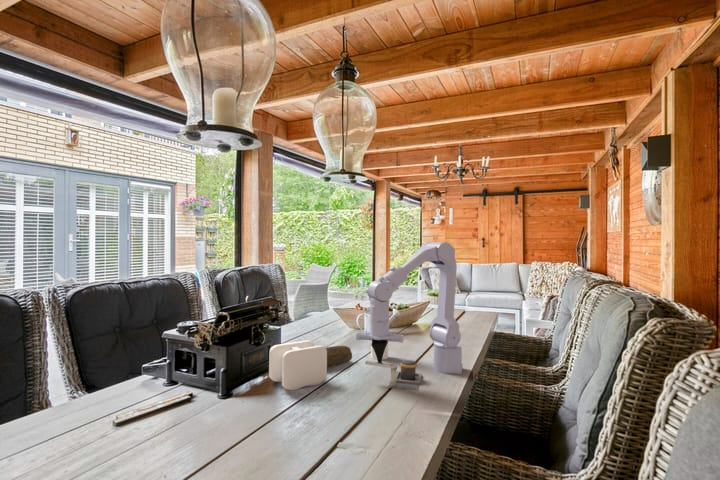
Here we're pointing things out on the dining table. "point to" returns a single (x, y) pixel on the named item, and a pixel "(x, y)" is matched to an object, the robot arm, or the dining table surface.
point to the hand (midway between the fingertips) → (379, 364)
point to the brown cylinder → (338, 355)
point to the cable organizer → (298, 364)
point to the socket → (404, 381)
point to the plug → (408, 370)
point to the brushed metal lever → (381, 364)
